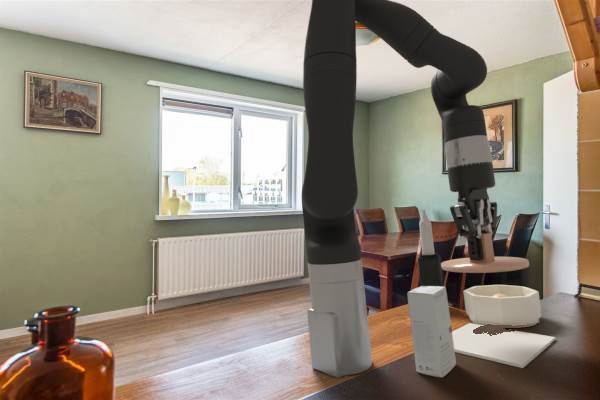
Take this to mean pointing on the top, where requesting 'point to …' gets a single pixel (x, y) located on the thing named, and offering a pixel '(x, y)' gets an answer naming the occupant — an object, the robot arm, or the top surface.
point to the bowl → (502, 305)
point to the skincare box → (431, 330)
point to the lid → (485, 261)
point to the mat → (500, 345)
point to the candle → (428, 256)
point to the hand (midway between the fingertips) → (481, 258)
